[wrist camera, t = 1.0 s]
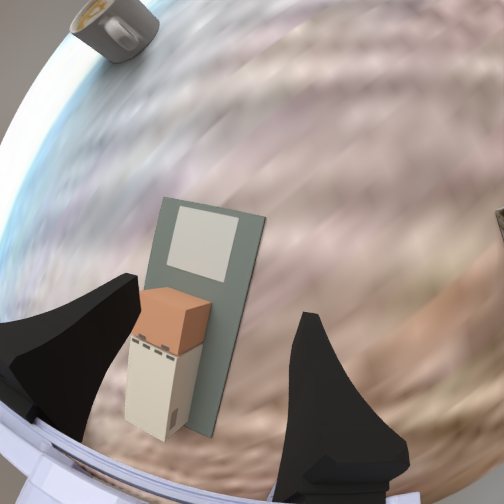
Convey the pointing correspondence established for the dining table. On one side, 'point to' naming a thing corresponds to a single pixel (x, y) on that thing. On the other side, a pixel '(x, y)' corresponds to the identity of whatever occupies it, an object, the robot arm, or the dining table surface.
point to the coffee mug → (115, 28)
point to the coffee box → (501, 219)
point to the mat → (207, 285)
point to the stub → (172, 319)
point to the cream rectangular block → (160, 387)
